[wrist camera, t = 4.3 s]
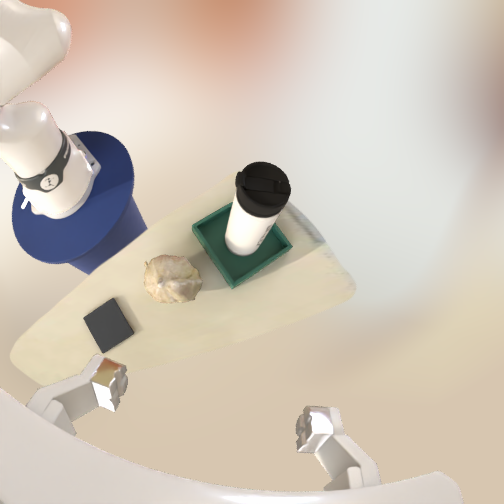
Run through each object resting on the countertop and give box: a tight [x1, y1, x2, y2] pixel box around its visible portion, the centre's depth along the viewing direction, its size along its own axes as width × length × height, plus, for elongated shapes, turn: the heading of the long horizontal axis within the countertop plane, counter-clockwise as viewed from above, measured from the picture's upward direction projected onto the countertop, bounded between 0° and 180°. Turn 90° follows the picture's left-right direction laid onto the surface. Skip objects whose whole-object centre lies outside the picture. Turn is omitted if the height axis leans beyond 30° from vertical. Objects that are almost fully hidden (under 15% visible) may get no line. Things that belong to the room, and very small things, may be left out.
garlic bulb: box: [144, 255, 203, 303], centre depth 40 cm, size 9×8×10 cm
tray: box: [192, 202, 293, 289], centre depth 48 cm, size 13×13×2 cm
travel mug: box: [225, 162, 291, 256], centre depth 39 cm, size 6×7×20 cm
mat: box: [84, 298, 134, 353], centre depth 40 cm, size 7×7×1 cm
